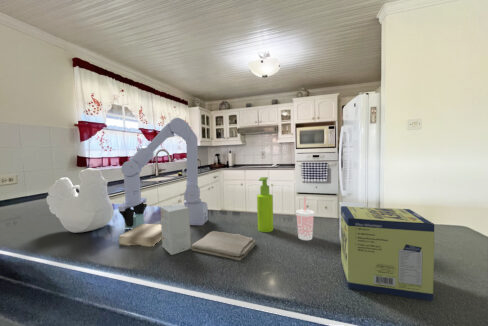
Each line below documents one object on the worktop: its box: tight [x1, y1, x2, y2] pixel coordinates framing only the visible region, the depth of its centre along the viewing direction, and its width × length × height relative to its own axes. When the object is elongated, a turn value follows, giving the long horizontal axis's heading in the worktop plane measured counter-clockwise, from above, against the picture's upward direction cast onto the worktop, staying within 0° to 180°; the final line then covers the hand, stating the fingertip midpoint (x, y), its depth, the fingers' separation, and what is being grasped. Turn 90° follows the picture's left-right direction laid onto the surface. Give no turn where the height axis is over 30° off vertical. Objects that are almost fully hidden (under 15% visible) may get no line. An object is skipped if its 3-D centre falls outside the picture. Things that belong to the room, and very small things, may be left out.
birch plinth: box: [118, 223, 162, 247], centre depth 76 cm, size 12×12×3 cm
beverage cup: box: [295, 196, 315, 241], centre depth 73 cm, size 6×6×14 cm
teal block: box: [124, 213, 145, 229], centre depth 87 cm, size 5×5×5 cm
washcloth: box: [190, 230, 257, 261], centre depth 67 cm, size 12×18×3 cm, turn 67°
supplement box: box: [338, 201, 367, 242], centre depth 67 cm, size 7×7×13 cm
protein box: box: [340, 206, 435, 302], centre depth 48 cm, size 10×16×16 cm
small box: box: [160, 203, 192, 256], centre depth 67 cm, size 8×6×13 cm
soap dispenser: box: [256, 176, 274, 233], centre depth 81 cm, size 6×7×20 cm
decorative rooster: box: [45, 167, 115, 234], centre depth 87 cm, size 25×16×25 cm, turn 75°
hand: (134, 223), depth 87 cm, fingers open, 5 cm apart
